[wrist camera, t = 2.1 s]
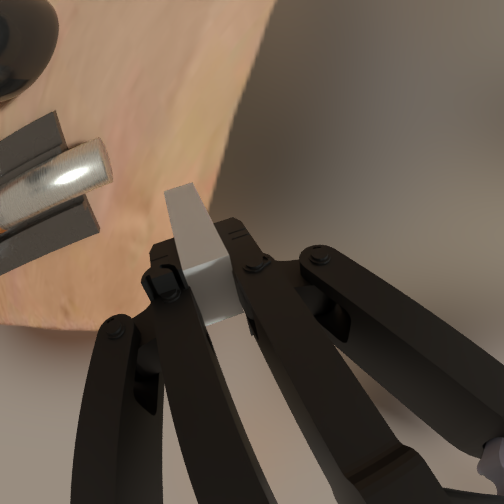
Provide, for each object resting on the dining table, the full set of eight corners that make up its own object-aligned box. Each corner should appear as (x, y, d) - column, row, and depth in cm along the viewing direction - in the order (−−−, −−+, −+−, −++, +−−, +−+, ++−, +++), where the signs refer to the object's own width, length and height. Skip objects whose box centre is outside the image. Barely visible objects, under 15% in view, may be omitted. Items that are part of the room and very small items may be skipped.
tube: (-15, 243, 22) (-34, 253, 18) (-25, 207, 21) (-47, 213, 16) (115, 181, 25) (106, 183, 21) (104, 139, 24) (93, 134, 20)
